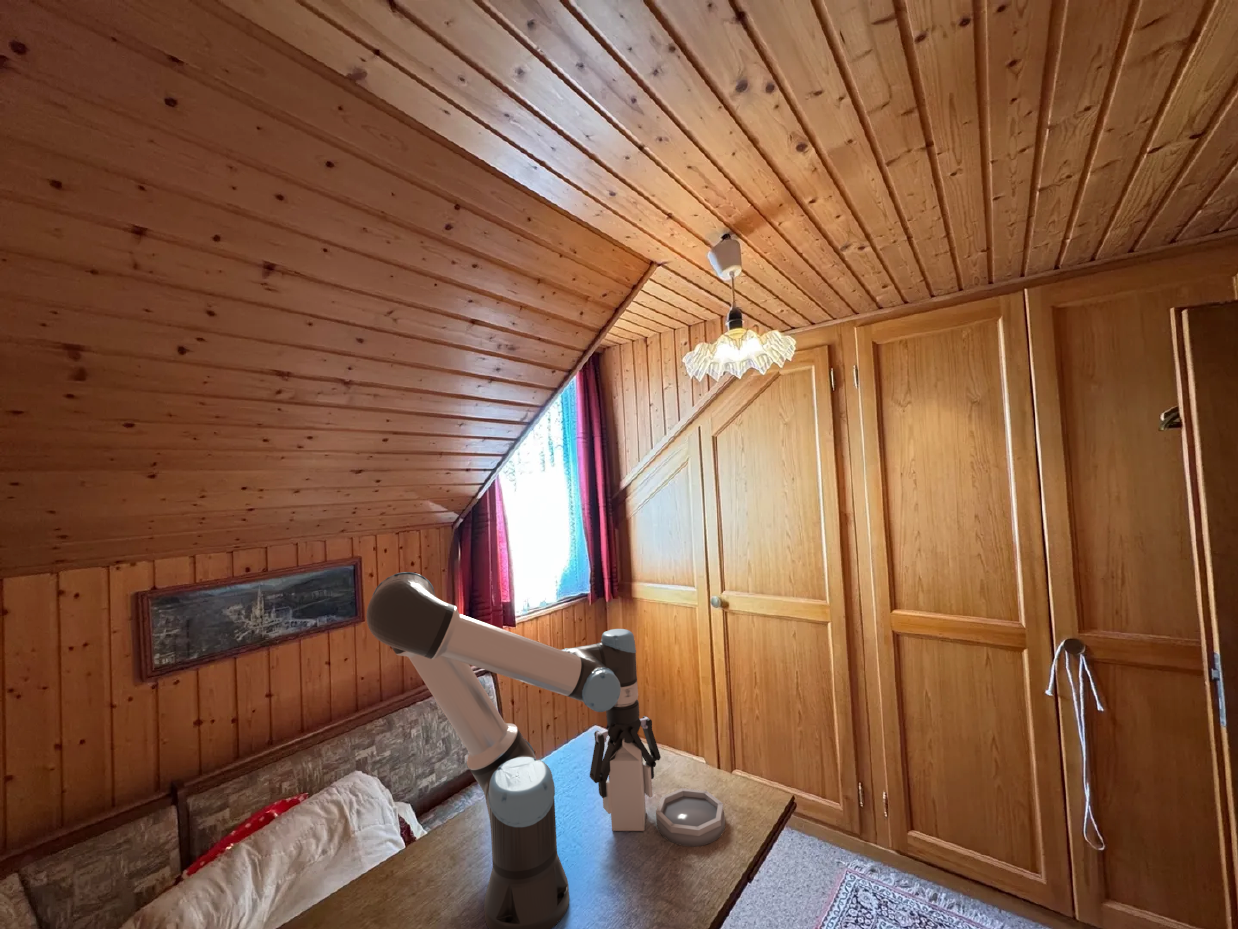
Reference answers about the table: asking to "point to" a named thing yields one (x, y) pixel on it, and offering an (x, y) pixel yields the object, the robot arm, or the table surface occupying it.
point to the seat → (690, 817)
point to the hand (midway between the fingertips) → (628, 802)
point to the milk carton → (627, 789)
